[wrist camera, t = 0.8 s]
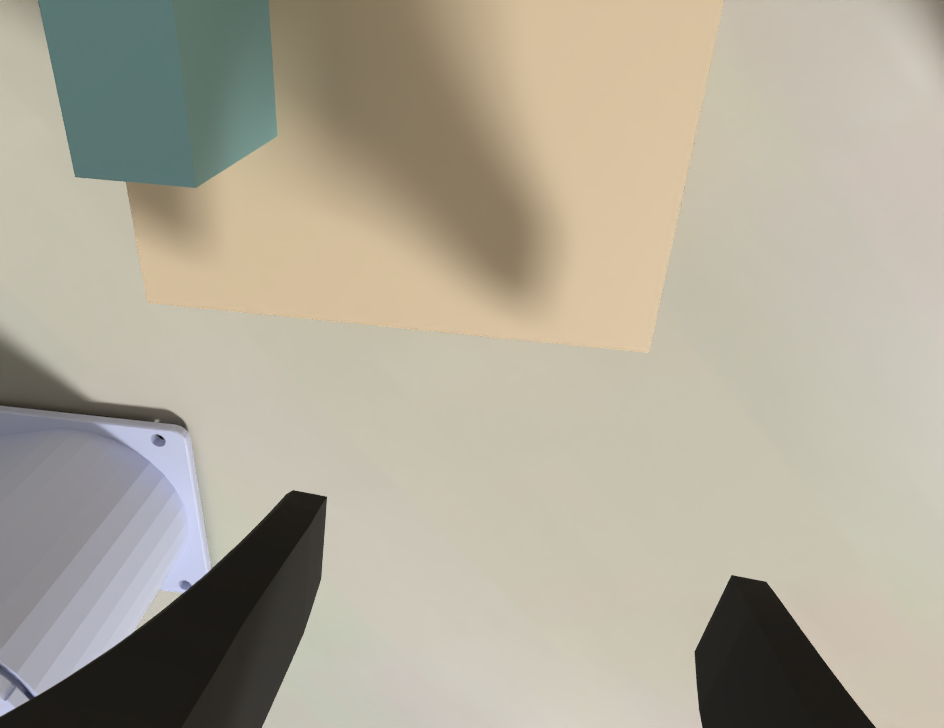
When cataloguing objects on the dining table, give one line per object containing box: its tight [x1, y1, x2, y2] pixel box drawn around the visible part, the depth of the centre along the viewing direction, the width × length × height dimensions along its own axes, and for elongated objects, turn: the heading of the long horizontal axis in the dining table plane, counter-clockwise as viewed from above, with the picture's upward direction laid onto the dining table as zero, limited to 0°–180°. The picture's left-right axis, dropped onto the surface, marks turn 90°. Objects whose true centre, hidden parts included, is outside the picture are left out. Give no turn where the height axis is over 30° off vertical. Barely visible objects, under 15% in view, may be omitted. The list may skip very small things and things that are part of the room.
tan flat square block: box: [38, 0, 724, 353], centre depth 12 cm, size 12×12×5 cm
